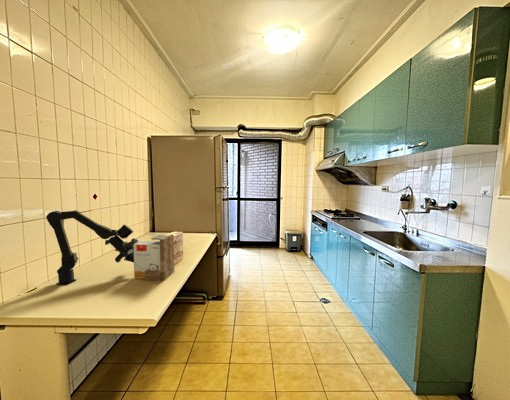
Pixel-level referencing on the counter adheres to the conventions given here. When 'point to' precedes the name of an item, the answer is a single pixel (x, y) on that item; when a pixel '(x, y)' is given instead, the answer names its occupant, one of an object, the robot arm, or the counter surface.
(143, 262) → the hard drive box
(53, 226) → the robot arm
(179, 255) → the coffeecake box
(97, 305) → the counter surface
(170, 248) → the bracket
